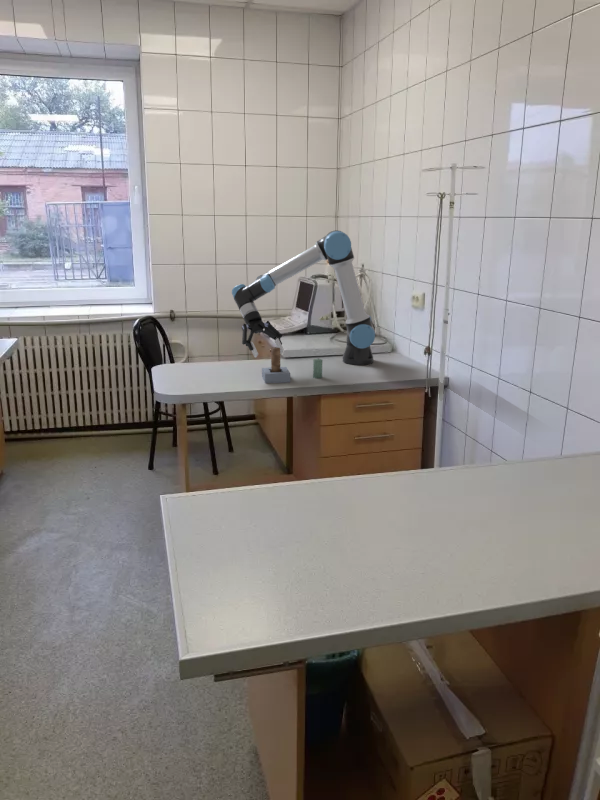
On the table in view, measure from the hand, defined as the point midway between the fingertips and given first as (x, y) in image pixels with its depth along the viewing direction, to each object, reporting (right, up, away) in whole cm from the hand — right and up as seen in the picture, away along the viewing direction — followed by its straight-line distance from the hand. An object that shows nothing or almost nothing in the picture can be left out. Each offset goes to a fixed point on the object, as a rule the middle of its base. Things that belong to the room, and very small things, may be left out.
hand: (269, 353), depth 275 cm
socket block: (+3, -11, 0) cm, 12 cm away
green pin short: (+21, -10, +4) cm, 24 cm away
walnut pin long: (+3, -11, 0) cm, 12 cm away
